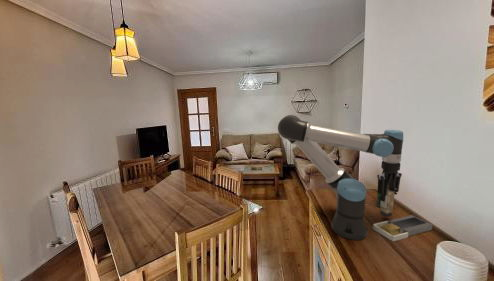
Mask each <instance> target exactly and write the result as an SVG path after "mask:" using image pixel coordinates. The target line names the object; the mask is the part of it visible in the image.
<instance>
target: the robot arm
mask: <svg viewBox="0 0 494 281" xmlns="http://www.w3.org/2000/svg"><path fill="white" fill-rule="evenodd" d="M277 131H278V134H279V135H280V136H281V137H282V138H283V139H285V140H287V141H288V142H290V144H291V145H296V146H297V147H298V149H299V150H301V151H302V153H303V154H304V155H305V156H306V157H307V158H308V160H309V161H310V162H311V163H312V164H313V165H314V166H315V168H316V169H317V170H318V171H319V172H320V173H321V174H322V175H323V176H324V178H325V183H326V184H327V185H328V186H329V188H331V189H332V191H333V192H334V194H335V196H336V211H335V213H334V216H333V218H332V220H331V224H330V225H331V230H332V231H333V232H334V233H336V234H337V235H338V236H340V237H341V238H344V239H348V240H353V241H358V240H363V239H365V238H366V237H367V236H368V227H367V224H366V220H365V208H366V200H367V187H366V185H365V184H364V183H363V182H361V181H359V180H356V179H354V177H353V176H352V175H351V174H350V173H349V172H348V171H347V170H346V169H345V168H344V167H339V166H338V165H337V163H335V161H334V160H332V158H331V157H330V156H329V155H328V154H327V152H325V151H324V149H323V148H322V147H321V146H320V145H319V144H324V145H327V146H333V147H338V148H341V149H342V148H343V149H347V150H354V151H358V152H363V153H367V154H371V155H372V154H373V155H375V156H377V157H380V158H381V160H382V161H381V169H382V172H381V174H377V176H376V177H377V190H378V193H379V194H381V199H380V200H381V204H380V206H382V207H384V208H387V197H388V196H387V195H386V194H387V190H388V186H389V190H391V191H393V192H394V196H395V195H398V193H399V191H400V183H401V182H400V181H401V178H402V175H403V174H402V173H401V172H399V171H400V170H401V162H402V153H403V152H402V151H403V143H404V131H402V130H399V129H386V130H384V132H383V133H356V132H353V131H352V132H351V131H347V130H341V129H335V128H330V127H325V126H320V125H313V124H311V123H310V122H309V121H306V120H305V121H304V120H302V119H300V118H299V117H298V116H296V115H294V114H287V115H285V116H284V117H283V118H282V119H280V121H279V122H278V124H277ZM385 179H386V180H385Z"/></svg>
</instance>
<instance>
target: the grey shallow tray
mask: <svg viewBox="0 0 494 281" xmlns="http://www.w3.org/2000/svg"><path fill="white" fill-rule="evenodd" d="M387 221H388V224H391V223H392V224H394V225H396V226H398V227H400V228H401V229H400V234H402V233H406V232H407V233H408V237H412V236H415V235H419V234H421V233H425V232H426V233H427V232H429V231H432V230H433V224H432V223H429V222H427V221H425V220H423V219H421V218H419V217H417V216H415V215H413V214H410V215H406V216H403V217H397V218H394V219H389V220H387Z"/></svg>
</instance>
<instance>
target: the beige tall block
mask: <svg viewBox="0 0 494 281" xmlns="http://www.w3.org/2000/svg"><path fill="white" fill-rule="evenodd" d="M386 195H387V196H388V197H387V208H384V207H382V206H381V208H380V207H379V209H380V210H379V214H380V215H382V216H383V217H385V218H389V217H393V210H394V209H393V208H394V200H395V195H394V192H393V191H391V190H387V194H386Z"/></svg>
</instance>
